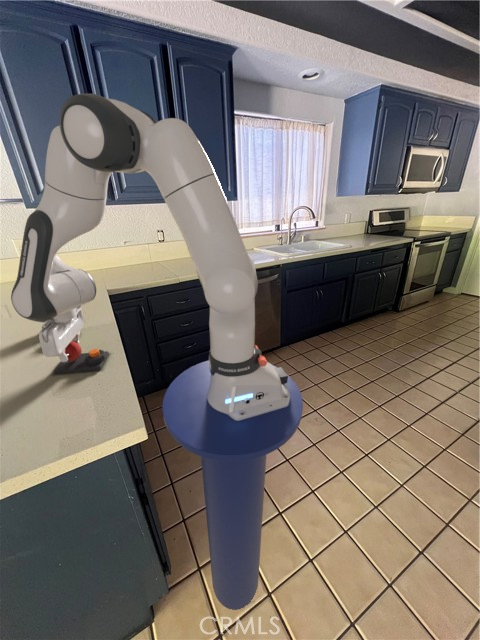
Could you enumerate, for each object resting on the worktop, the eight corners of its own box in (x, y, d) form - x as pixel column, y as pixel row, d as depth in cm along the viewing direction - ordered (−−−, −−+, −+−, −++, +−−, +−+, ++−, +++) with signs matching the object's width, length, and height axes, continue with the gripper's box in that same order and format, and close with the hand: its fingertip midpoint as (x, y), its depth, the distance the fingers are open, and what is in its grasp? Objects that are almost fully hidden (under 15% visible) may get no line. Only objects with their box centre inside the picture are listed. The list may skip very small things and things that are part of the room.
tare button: (101, 352, 85) (99, 348, 84) (98, 357, 82) (97, 353, 82) (91, 353, 84) (90, 349, 84) (88, 358, 82) (87, 354, 81)
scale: (110, 354, 89) (108, 346, 88) (102, 369, 81) (100, 361, 80) (67, 357, 87) (64, 349, 86) (54, 374, 79) (51, 365, 78)
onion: (60, 368, 80) (52, 345, 76) (66, 357, 85) (58, 336, 81) (81, 365, 81) (74, 342, 78) (86, 355, 86) (79, 333, 83)
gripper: (53, 327, 67) (68, 371, 73) (82, 299, 85) (92, 336, 91) (26, 329, 66) (43, 374, 72) (61, 300, 84) (73, 338, 90)
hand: (71, 353), depth 82 cm, fingers open, 7 cm apart
